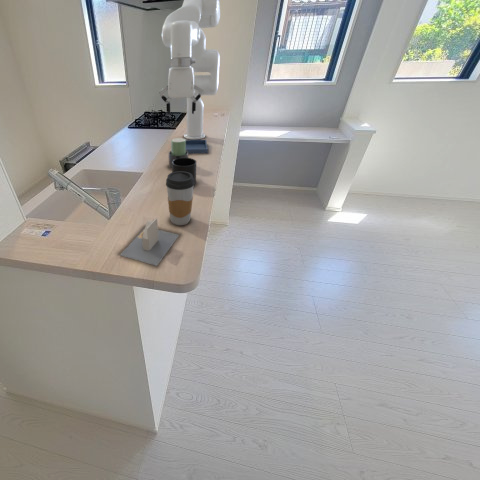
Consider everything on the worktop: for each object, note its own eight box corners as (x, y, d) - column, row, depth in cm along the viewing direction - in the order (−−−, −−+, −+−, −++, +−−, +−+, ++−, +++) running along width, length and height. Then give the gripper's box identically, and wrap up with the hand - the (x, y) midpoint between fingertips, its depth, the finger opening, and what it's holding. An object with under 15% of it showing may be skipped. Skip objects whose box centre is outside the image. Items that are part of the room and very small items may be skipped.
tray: (180, 144, 149) (180, 140, 148) (205, 144, 148) (206, 139, 146) (179, 154, 136) (179, 149, 135) (207, 154, 135) (207, 149, 133)
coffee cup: (193, 213, 88) (194, 170, 80) (193, 227, 82) (194, 182, 73) (168, 213, 89) (166, 170, 80) (166, 227, 83) (164, 182, 74)
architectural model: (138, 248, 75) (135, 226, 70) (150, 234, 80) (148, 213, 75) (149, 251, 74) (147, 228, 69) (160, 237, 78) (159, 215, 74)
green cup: (171, 163, 125) (171, 138, 118) (185, 163, 124) (185, 137, 118) (171, 168, 120) (170, 142, 113) (185, 168, 119) (185, 142, 113)
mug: (198, 177, 112) (199, 156, 107) (193, 189, 103) (194, 167, 98) (176, 175, 114) (176, 154, 109) (169, 187, 105) (169, 165, 100)
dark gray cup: (169, 163, 126) (169, 149, 123) (188, 163, 126) (188, 149, 122) (168, 170, 119) (168, 156, 116) (188, 170, 119) (188, 156, 115)
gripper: (204, 62, 101) (201, 111, 111) (158, 64, 103) (160, 112, 113) (205, 62, 95) (202, 114, 105) (157, 65, 97) (159, 116, 107)
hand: (181, 113), depth 109 cm, fingers open, 9 cm apart
